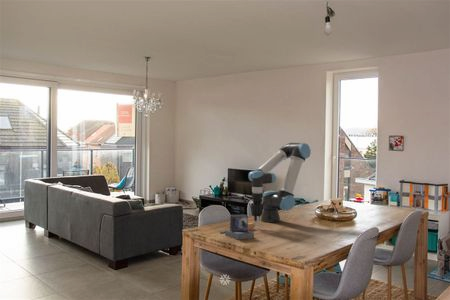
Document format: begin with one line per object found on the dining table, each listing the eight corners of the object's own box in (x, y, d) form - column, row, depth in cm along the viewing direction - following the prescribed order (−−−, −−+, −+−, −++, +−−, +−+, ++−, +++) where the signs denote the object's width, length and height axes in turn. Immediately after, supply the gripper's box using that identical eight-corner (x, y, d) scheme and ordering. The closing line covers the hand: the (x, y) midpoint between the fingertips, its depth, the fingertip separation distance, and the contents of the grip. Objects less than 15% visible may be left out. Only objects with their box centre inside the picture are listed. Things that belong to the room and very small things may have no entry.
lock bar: (252, 228, 277) (252, 222, 277) (254, 228, 275) (254, 223, 275) (237, 230, 270) (237, 224, 269) (240, 231, 267) (240, 225, 267)
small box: (232, 232, 251) (232, 216, 251) (229, 230, 257) (229, 214, 257) (248, 231, 254) (248, 215, 253) (244, 229, 260) (245, 214, 260)
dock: (234, 230, 270) (234, 226, 270) (253, 237, 253) (253, 232, 253) (219, 233, 263) (219, 228, 263) (239, 240, 246) (239, 235, 246)
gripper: (260, 191, 284) (260, 223, 285) (246, 192, 276) (246, 225, 277) (267, 192, 278) (267, 225, 278) (253, 193, 270) (253, 227, 271)
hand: (256, 225), depth 278 cm, fingers closed
